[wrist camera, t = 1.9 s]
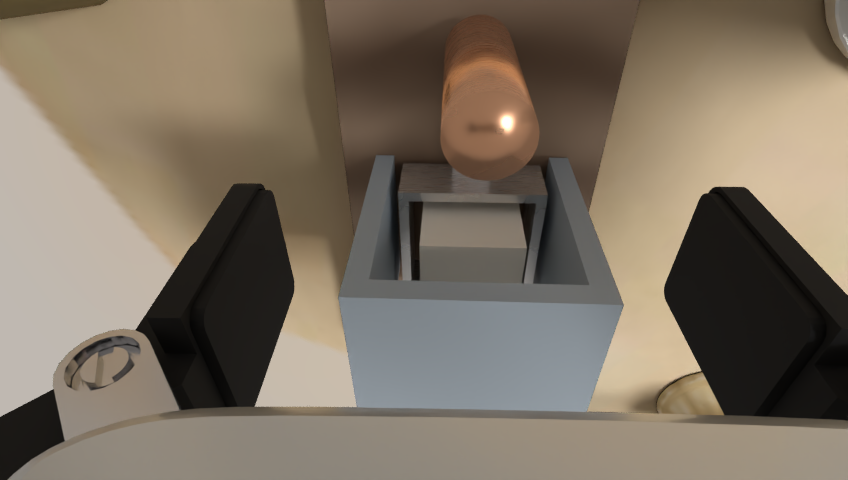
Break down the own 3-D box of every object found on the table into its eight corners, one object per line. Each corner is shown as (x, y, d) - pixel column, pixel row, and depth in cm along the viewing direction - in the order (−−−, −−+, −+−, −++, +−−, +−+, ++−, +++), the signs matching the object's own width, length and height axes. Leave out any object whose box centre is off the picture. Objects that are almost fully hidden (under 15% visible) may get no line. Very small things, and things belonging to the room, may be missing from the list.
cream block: (514, 180, 27) (526, 248, 22) (505, 249, 30) (515, 321, 25) (425, 179, 27) (419, 245, 23) (426, 248, 30) (420, 318, 26)
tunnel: (546, 268, 31) (581, 426, 22) (385, 264, 31) (358, 417, 23) (567, 157, 26) (623, 305, 17) (376, 155, 27) (338, 297, 18)
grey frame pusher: (523, 267, 31) (546, 402, 23) (407, 265, 31) (391, 396, 23) (563, 8, 21) (625, 91, 14) (396, 8, 22) (364, 89, 14)
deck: (547, 333, 38) (552, 358, 36) (373, 327, 39) (368, 352, 37) (695, -337, 17) (727, -363, 15) (299, -325, 17) (280, -348, 15)
